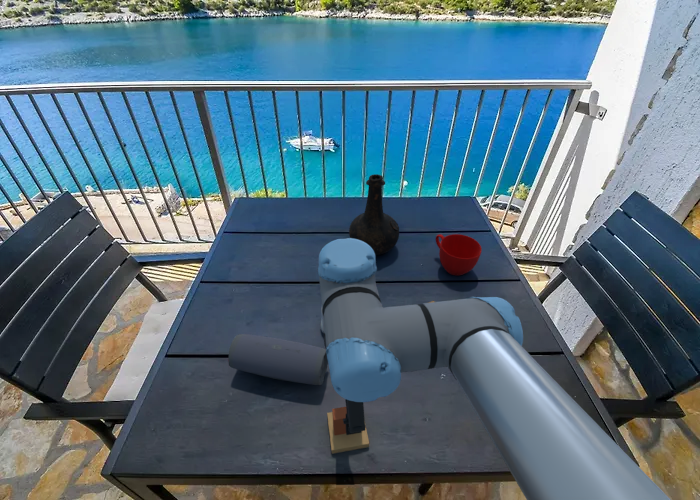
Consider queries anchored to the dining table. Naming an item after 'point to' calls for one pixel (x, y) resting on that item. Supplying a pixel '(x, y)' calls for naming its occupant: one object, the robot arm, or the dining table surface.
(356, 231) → the glass bottle
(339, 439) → the open box
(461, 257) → the ceramic cup
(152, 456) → the dining table surface
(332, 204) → the dining table surface
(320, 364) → the bluetooth speaker
